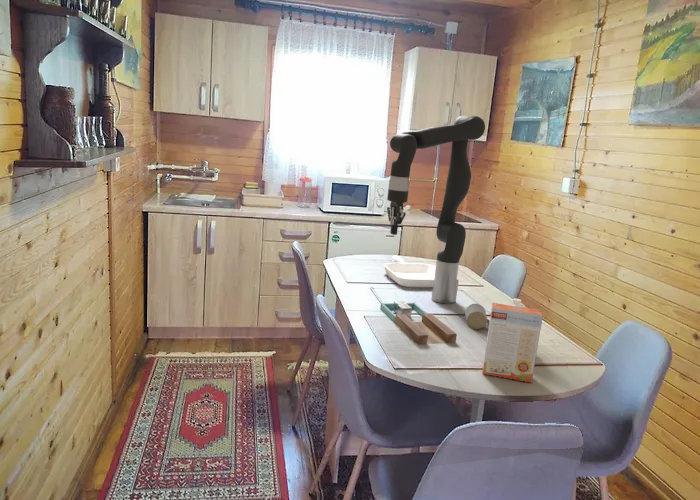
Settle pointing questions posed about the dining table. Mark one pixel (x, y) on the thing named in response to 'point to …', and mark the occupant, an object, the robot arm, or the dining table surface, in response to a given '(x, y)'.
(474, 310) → the ceramic mug
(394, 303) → the metal block
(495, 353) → the cracker box
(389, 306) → the teal tray
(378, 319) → the dining table surface
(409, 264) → the pan
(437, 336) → the walnut slot board
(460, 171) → the robot arm
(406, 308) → the metal block
